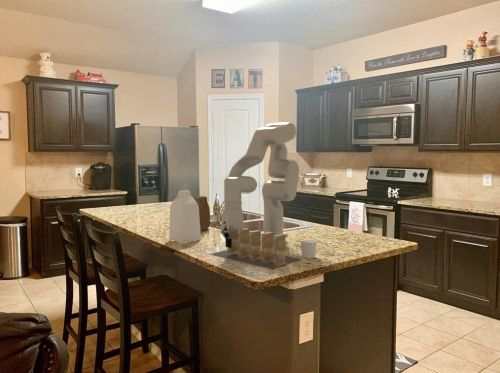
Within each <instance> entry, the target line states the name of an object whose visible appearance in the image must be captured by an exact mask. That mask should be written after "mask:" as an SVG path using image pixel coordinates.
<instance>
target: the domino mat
mask: <svg viewBox="0 0 500 373" xmlns="http://www.w3.org/2000/svg"><path fill="white" fill-rule="evenodd" d="M209 255H210V256H214V257H219V258H223V259H226V260H231V261H236V262H239V263H240V262H241V263H244V264H248V265H251V266H256V267H260V268H263V269H264V268H265V269H269V270H275V269H279V268H282V267H284V266H287V265H290V264H294V263H296V262H300V261H303V259H301V258H296V257H293V256H287V255H285V264H284V265H281V266H274V253H273V261H272V262H269V263H261V259H258V260H254V261H251V260H249V256H248V257H244V258H238V252H235V253H227V249H226V250H222V251H217V252H214V253H210V254H209Z"/></svg>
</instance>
